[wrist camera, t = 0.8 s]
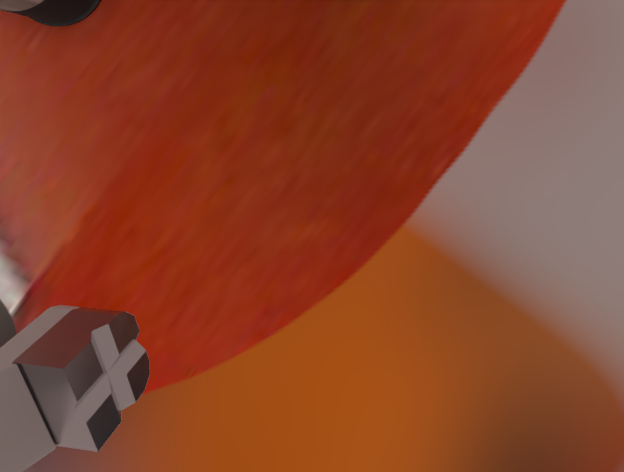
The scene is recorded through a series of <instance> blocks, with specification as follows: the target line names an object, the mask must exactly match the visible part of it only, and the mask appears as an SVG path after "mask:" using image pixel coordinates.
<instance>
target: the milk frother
mask: <svg viewBox="0 0 624 472" xmlns="http://www.w3.org/2000/svg"><path fill="white" fill-rule="evenodd" d="M99 2H100V0H0V10H2V11H7V12H12V13H16V14H20V15H24V16H28V17H29V18H31V19H33V20H35V21H37V22H40V23H42V24H46V25H50V26H67V25H71V24H74V23H77V22H79V21H81V20H82V19H84V18H85V17H86V16H88V15H89V14H90V13H91V12H92V11H93V10H94V9H95V8H96V6H97V5H98V3H99Z"/></svg>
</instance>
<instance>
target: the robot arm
mask: <svg viewBox="0 0 624 472" xmlns="http://www.w3.org/2000/svg"><path fill="white" fill-rule="evenodd" d="M139 332H140V330H139V327H138V325H137V322H136V319H135V317H134V316H133V315H131V314H129V313H127V312H123V311H114V310H105V309H96V308H87V307H74V306H65V305H58V306H54V307H50V308H48V309H47V310H46V311H45V312H43V313H42V314H41V315H40V316H39V317H37V318H36V319H35V320H34V321H33V322H31V323H30V324H29V325H28V326H26V327H25V328H24V329H23V330H22V331H20V332H19V333H18V334H17V335H15V336H14V337H13V338H12V339H11V340H9V341H8V342H7V343H6V344H5V345H3V346H2V347H1V348H0V472H23V471H24V470H25V469H27V468H28V467H30V466H31V465H33V464H34V463H35V462H37V461H38V460H40V459H41V458H43V457H44V456H46V455H47V454H49V453H50V452H52V451H53V450H54V449H55V448H56V446H62V447H69V448H75V449H82V450H90V451H96V452H98V451H99V450H100V449H101V447H102V446H103V445H104V443H105V442H106V441H107V439H108V438H109V437H110V436H111V434H112V433H113V432H114V430H115V429H116V428H117V426H118V425H119V424H120V422H121V410H123V409H125V408H127V407H128V406H130V405H132V404H133V403H135V402H136V401H137V400H138V399H139V397H140V396H141V394H142V393H143V392H144V390H145V387H146V384H147V381H148V378H149V375H150V365H149V358H148V355H147V352H146V350H145V349H144V348H143V347H142V346H141V345H140V344H139V343H138V342H137V341H136V338H137V336H138V334H139Z"/></svg>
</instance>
